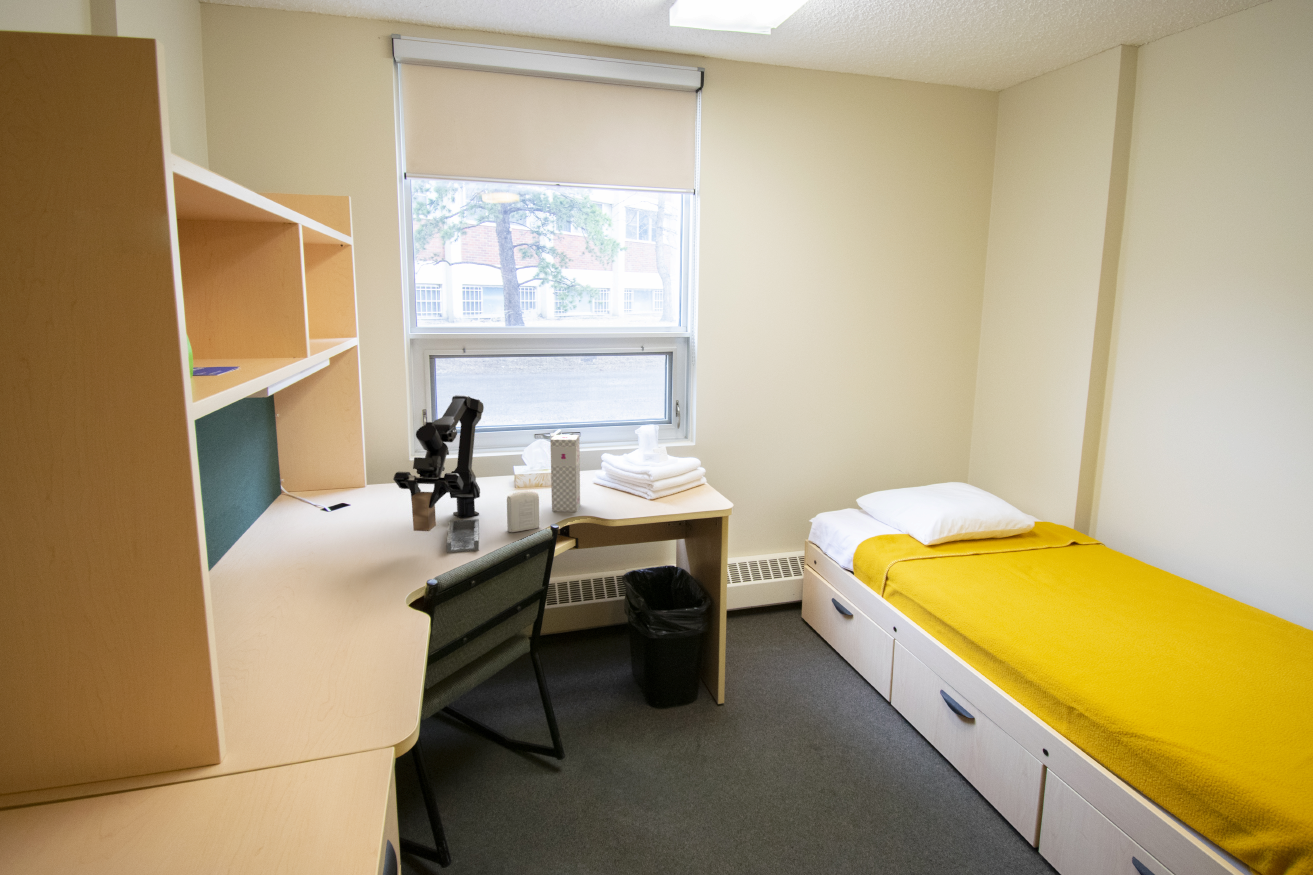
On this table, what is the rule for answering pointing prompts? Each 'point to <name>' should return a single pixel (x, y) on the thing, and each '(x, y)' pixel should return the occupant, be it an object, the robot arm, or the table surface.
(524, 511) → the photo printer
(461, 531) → the gray rectangular tray
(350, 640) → the table surface
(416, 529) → the wooden tall block
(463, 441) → the robot arm
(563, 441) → the box
